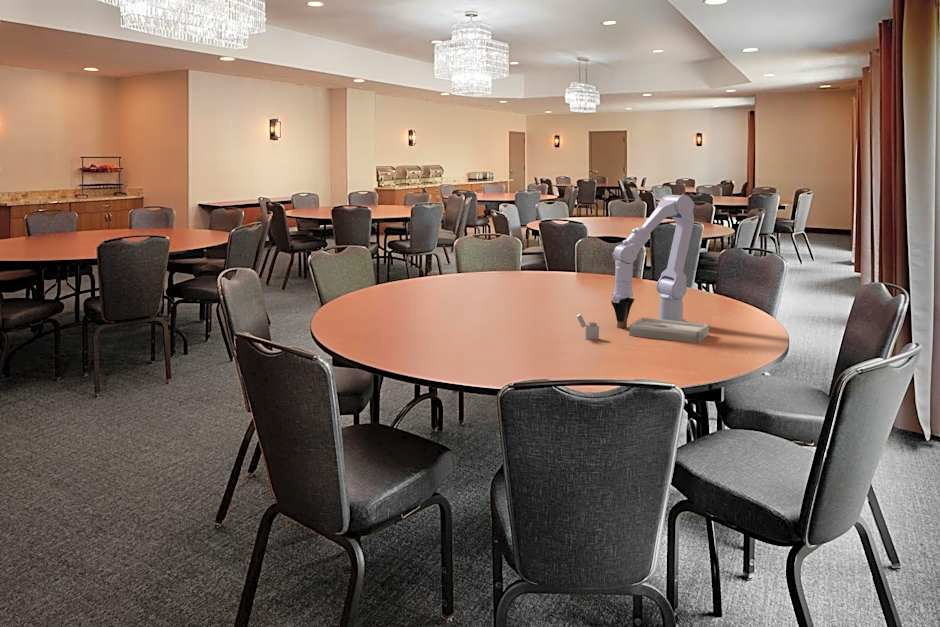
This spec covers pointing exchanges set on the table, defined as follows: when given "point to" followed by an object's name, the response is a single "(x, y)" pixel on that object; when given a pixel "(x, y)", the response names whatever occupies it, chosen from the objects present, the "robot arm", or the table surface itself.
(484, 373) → the table surface
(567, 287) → the table surface
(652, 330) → the box
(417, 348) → the table surface
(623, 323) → the peg
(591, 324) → the lighter
